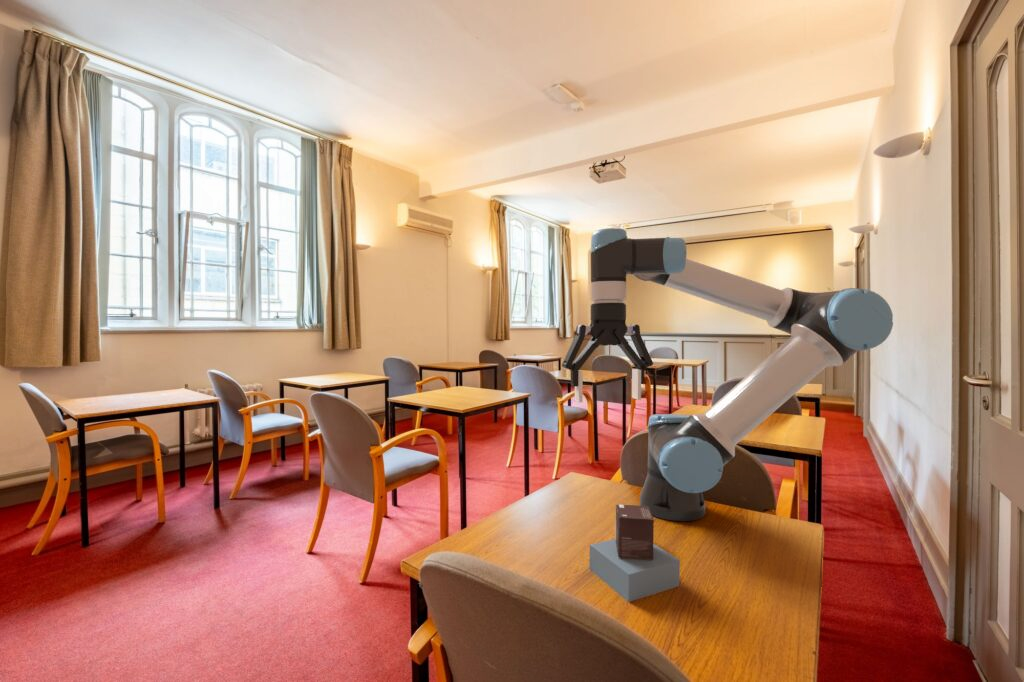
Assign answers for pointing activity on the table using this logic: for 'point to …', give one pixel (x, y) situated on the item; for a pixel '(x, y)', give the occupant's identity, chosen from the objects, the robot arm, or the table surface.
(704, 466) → the robot arm
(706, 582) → the table surface
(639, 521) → the box
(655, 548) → the slate block
